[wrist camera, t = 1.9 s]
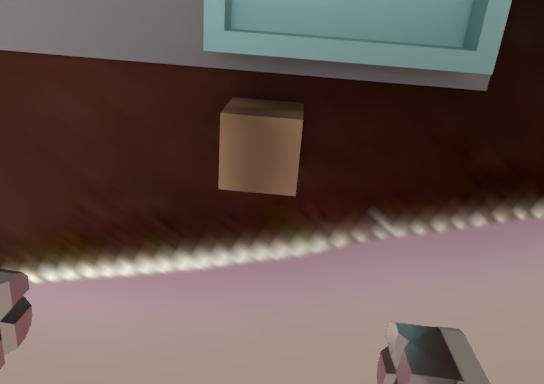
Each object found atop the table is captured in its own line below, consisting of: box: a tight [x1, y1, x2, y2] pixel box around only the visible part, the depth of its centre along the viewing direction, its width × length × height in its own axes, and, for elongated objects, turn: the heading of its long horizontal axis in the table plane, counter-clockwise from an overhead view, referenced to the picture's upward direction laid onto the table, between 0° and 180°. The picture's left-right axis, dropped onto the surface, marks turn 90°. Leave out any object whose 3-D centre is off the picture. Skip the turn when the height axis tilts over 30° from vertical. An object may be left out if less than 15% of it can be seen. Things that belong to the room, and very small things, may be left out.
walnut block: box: [219, 97, 304, 196], centre depth 27 cm, size 4×4×4 cm
